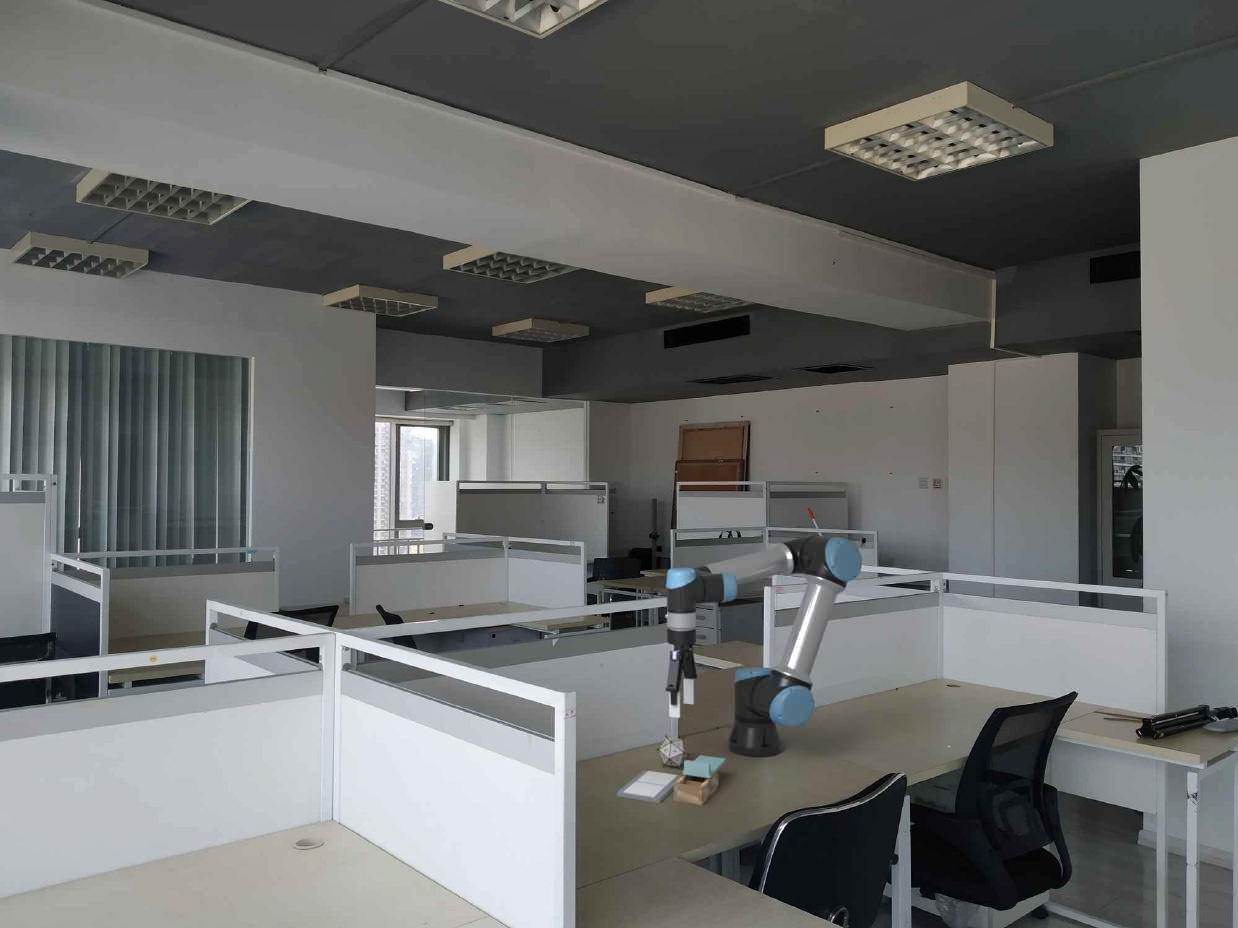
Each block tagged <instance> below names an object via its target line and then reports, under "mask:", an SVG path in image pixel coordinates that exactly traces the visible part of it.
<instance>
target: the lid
mask: <svg viewBox="0 0 1238 928" xmlns="http://www.w3.org/2000/svg"><path fill="white" fill-rule="evenodd" d="M726 762H727V758H723V757H715V756H708V755H702V754H701V755H698V757H696V758H695V759H694V760H690V759H688V760H687V759H685V760H684V761H683V770H682V775H691V776H698V777H705V778H711V777H712V776H713V775H714V774H715V773H716V772H717V771H719V770H720V769H721V767H723V766H724V765H725V764H726Z"/></svg>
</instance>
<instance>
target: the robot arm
mask: <svg viewBox="0 0 1238 928" xmlns="http://www.w3.org/2000/svg"><path fill="white" fill-rule="evenodd" d="M862 567H863V557H862V554H861V552H860V549H859V547H858V546H857V545H856V544H855V542H853V541H852V540H850V539H847V538H842V537H840V536H826V535H817V534H815V535H814V534H813V535H804V536H802V537H797V538H793V539H790V540H787V541H783V542H779V543H777V544H775V546H774V547H773V548H770V549H766V550H761V551H758V552H754V553H750V554H746V555H740V556H738V557H734V558H729V559H725V560H721V561H717V562H713V563H709V564H705V565H701V566H696V567H692V568H691V567H673V568H669V569H668V571H667V573H666V583H665V587H666V614H665V615H664V617H665V619H666V627H668V628H667V629H666V642H667V643H668V644H669V645H672V646H673V650H670V652H669V662H668V663H669V665H668V672H667V680H666V681H667V682H666V687H665V692H668V696H669V697H668V700H669V701H668V703H669V705H668V706H669V707H668V708H669V709H668V710H669V711H668V712H669V717H670V718H679V719H680V718H681V717H682V716H681V691H680V686H681V680H682V676H684V678H683V680H682V681H683V704H685V705H686V704H687V705H694V704H695V679H698V674H697V668H696V662H695V655H694V654H695V653H694V645H695V644H696V642H697V630H696V627H697V605H701V604H712V603H713V604H715V603H726V602H732V601H733V600H735V598H736V597H737V596H738V591H739V590H738V585H742V584H747V583H749V582H754V581H757V580H761V579H765V578H769V577H774V576H777V575H781V574H782V575H783V576H785V577H787V576H791V575H796V574H798V575H800V574H801V575H804V578H805V580H806V582H807V585H806V588H805V591H804V594H803V597H802V598H801V599H802V600H801V602H800V605H799V608H798V611H797V613H796V617H795V620H794V622H793V625H792V627H791V631H790V634H789V637H788V639H787V641H786V646H785V649H784V651H783V653H782V656H781V660H780V661H779V664H778V665H776V666H774V667H745V668H739V669H737V670H736V672H735V675H734V676H735V677H734V682H733V683H734V720H733V721H734V722H733V724H732V727H731V729H730V733H729V736H728V739H727V748H728V750H729V751H731V752H732V753H735V754H738V755H742V756H747V757H771V756H776V755H778V754H780V753H781V751H782V741H781V737H780V734H779V730H778V727H777V725H778V726H780V727H785V728H789V729H795V728H799V727H800V726H803V725H804V724H805V723H806V722H807V721H809V720H810V719H811V716H812V714H813V713H814V710H815V700H814V695H813V693H812V687H813V685H814V683H813V681H812V679H811V673H812V671H813V667H814V664H815V661H816V658H817V656H818V653H819V649H820V646H821V644H822V640H823V637H824V634H825V632H826V630H827V626H828V623H829V620H830V617H831V614H832V611H833V609H834V605H835V602H836V600H837V596H838V595H839V594H840V593H842V592H845V591H846V588H847V584H848V582H851V581H853V580H854V579H856V578H857V577H858V576H859V574H860V573H861V570H862Z"/></svg>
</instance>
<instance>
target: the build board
mask: <svg viewBox="0 0 1238 928" xmlns="http://www.w3.org/2000/svg"><path fill="white" fill-rule="evenodd" d="M682 776H683V775H678V774H672V773H665V772H659V771H651V770H645V769H644V770H642V771H641V772H640V773H639V774H637V775H636V776H635V777H634V778H633V779H631V780H630V781H629V782H627V784H625V785H624V786H623V787H622V788H620V789H619V790H618V791H617V792H616V797H618V798H625V799H626V798H627V799H632V800H638V801H644V802H650V803H656V804H660V803H661V802H662V801H663V800H665V799H666V798H667V796H669V795H670V794H671V793H672V792H674V783H675V782H677V781H678V780H679V779H680V778H681V777H682Z"/></svg>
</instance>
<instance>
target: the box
mask: <svg viewBox="0 0 1238 928" xmlns="http://www.w3.org/2000/svg"><path fill="white" fill-rule="evenodd" d="M681 776H682V777H681V778H680V779H679V780H678V781H677V782H675V783H674V790H673V801H674V802H680V803H686V804H693V805H698V806H703V804H704V803H705V802H706V801H707V800H708V799H709V798H710V797H711V795H713V794H714V792H715V791H716V790H717V789H718V788H719V770H718V771H717V772H716V773H715V774H714V775H713V776H712V777H711V778H705V777H698V776H691V775H684V774H682V775H681Z"/></svg>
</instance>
